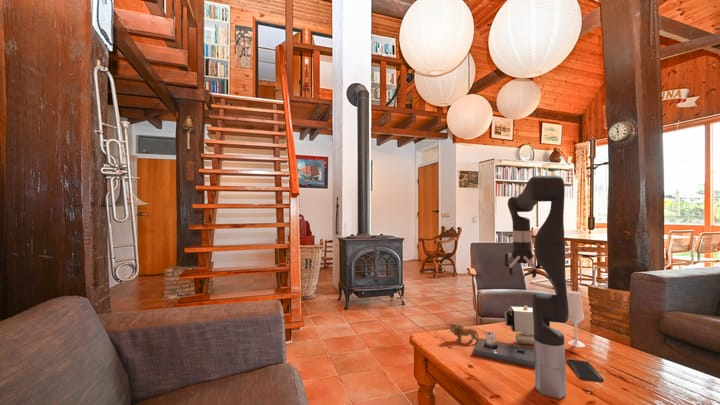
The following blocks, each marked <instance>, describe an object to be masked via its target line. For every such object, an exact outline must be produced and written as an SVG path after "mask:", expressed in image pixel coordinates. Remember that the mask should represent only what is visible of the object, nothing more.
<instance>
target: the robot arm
mask: <svg viewBox="0 0 720 405" xmlns="http://www.w3.org/2000/svg"><path fill="white" fill-rule="evenodd" d="M565 190H566V189H565V181H564V179H563V177H562V176H561V175H557V174H556V175H535V176H532V177H531V178H529V180H528V181H527V182H526V185H525V187H524V189H523V191H522V192H521V193H520V194H519V195H518V196H511V197H509V198H508V200H507V207H508V210H509V213H510V216H511V220H512V237H511V238H512V253H511V252H506V253H505V255H504V266H505V267H508V268H509V271H508V272H509V275H510V277H514V267H513V266H515V265H516V264H517V263H518V264H525V265H526V264H528V265H529V266H530V267H531V268H532V270H531V271H532V272H531V273H532V278H533V279H535V277H537V270H538V269H541V268H542V269H543V271H544V272H545V273H546V275H547V277H548V278H549V279H550V281H551V283H552V284H553V286H554V289H555V293H556V294H550V293H534V294H533V296H532V298H531V299H532V300H531V306H532V307H531V308H532V310H533V321H534V333H533V334H534V345H533V348H534V357H535V368H534V380H535V381H534V382H535V383H534V384H535V389H536V390H537V391H538V392H539V395H543V396H545V397H546V396H547V397H551V398H555V399H559V400H561V399H562V398H564V397H566V396H567V381H566V380H567V379H566V353H565V347H566V346H565V335H564V334H563V332H561V331H559V330H557V329H555V328H552V327H549V326H547V325H546V324H545V323H544V321H548V322H550V323H557V324H558V323H560V324H566V323H567V322H568V321H569V320H568V319H569V318H568V316H569V310H568V291H567V282H566V279H567V277H566V241H565V239H566V238H565V226H564V225H565V223H564V220H565V219H564V217H565V216H564V213H565V211H564V210H565V193H566V192H565ZM538 202H550V210H549V213H548V215H547V217H546V219H545V221H544V222H543V224H542V225H541V227H540V228H539V229H538V231H537V233H536V234H535V236H534V254H533V253H532V234H531V221H530V218H528V217H525V216H520V215H519V214H518V213H529V212H532V211H533V210H534V206H536V205H537V204H538ZM511 257H512V258H513V261H512V262H511V263H510V262H509V260H510V258H511ZM533 258H534V259H535V260H536V265H535V264H534V262H533V261H532V259H533Z"/></svg>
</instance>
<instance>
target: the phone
mask: <svg viewBox="0 0 720 405" xmlns="http://www.w3.org/2000/svg"><path fill="white" fill-rule="evenodd" d="M566 363H567V365H568V366H569V368H571V370H572V371H573V372H574V373H575V375H576V376H577V377H578V379H579V380H582V381H590V382H591V381H592V382H599V383H603V382H604V378H603V376H602V375H601V374H599V372H598V371H597V370H596V369H595V368H594V367H593V365H591V364H590V362H588V361H586V360H576V359H566Z"/></svg>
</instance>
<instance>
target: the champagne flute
mask: <svg viewBox="0 0 720 405" xmlns="http://www.w3.org/2000/svg"><path fill="white" fill-rule="evenodd" d="M567 299H568V310H569V316H568V319H569V320H570V321H571V322H572V323H573V324H574V326H573V327H574V329H573V330H574V339H572V340H570V341H568V342H567V343H568V345H570V346H573V347H577V348H585V347H586V345H585V344H584V343H583V342H581V341H580V340H579V337H578V324H580V323H581V322H583V320H584V319H585V314H584V308H583V307H584V306H583V301H582V293H581V292H580V291H574V290H569V291H568V293H567Z"/></svg>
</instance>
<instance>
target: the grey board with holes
mask: <svg viewBox="0 0 720 405" xmlns="http://www.w3.org/2000/svg"><path fill="white" fill-rule="evenodd" d="M476 342H477V341H476ZM495 343H496V350H495V349H490V348H486V338H479V340H478V342H477V344H476V343H475V346H474V348H473V349H472V350H473V351H472V352H473V356H476V357H477V356H478V357H482V358H485V359H491V360H494V361H498V362H504V363H508V364H513V365H519V366H522V367H528V368H533V369H535V357H534V347H529V346H525V345H521V344H520V345H519V344H514V343H508V342H502V341H498V340H495Z"/></svg>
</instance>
